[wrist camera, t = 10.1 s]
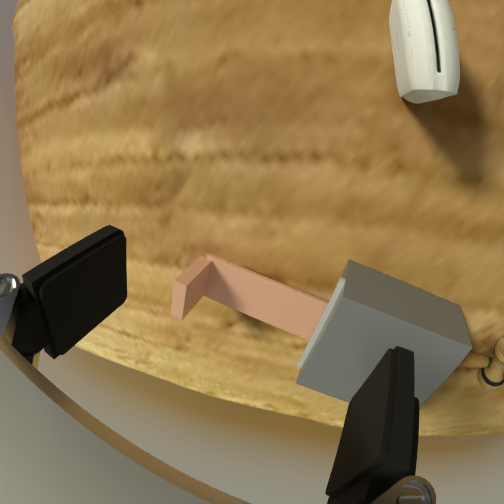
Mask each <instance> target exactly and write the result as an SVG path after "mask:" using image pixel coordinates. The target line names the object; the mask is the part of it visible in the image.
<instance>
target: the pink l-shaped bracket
mask: <svg viewBox="0 0 504 504" xmlns="http://www.w3.org/2000/svg"><path fill="white" fill-rule="evenodd" d="M203 295H204V296H206V297H208V298H210V299H213V300H215V301H217V302H219V303H222V304H224V305H226V306H228V307H231V308H233V309H235V310H237V311H240V312H242V313H244V314H247V315H249V316H251V317H254V318H256V319H258V320H261V321H263V322H265V323H268V324H270V325H273V326H275V327H278V328H280V329H282V330H285V331H287V332H290V333H292V334H295V335H297V336H300V337H302V338H305V339H307V340H310V339H311V337H312V335H313V333H314V331H315V329H316V327H317V325H318V323H319V321H320V319H321V317H322V315H323V313H324V311H325V309H326V307H327V304H328V302H327V301H325V300H322V299H320V298H317V297H315V296H312V295H310V294H307V293H305V292H302V291H300V290H297V289H295V288H292V287H290V286H287V285H285V284H282V283H280V282H277V281H275V280H272V279H270V278H267V277H265V276H263V275H260V274H258V273H255V272H253V271H250V270H248V269H245V268H243V267H241V266H238V265H236V264H233V263H231V262H229V261H226V260H224V259H221V258H219V257H216V256H214V255H212V254H209V253H208V254H207V257H206V258H205V257H202V256H200V257H199V258H198V259H197V260H196V261H195V262H193V263H192V264H191V265H190V266H189V267H188V268H187V269H186V270H185V271H184V272H183V273H182V274H181V275H179V276H178V277H177V278H176V279H175V280H174V287H173V296H172V306H171V315H172V316H174V317H176V318H178V319H180V320H183V318H184V317H185V316H186V315H187V314H188V313H189V312H190V310H191V309H192V308H193V307H194V306H195V305H196V304H197V302H198V301H199V300H200V299H201V298H202V297H203Z"/></svg>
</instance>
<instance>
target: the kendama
mask: <svg viewBox="0 0 504 504" xmlns="http://www.w3.org/2000/svg"><path fill="white" fill-rule="evenodd" d="M457 367H466V368H480V370H479V372H478V381H479V383H480V385H481V386H482V387H483V388H484V389H486V390H488V391H496V390H498V389H499V388H500V387H501V386H502V385H503V384H504V337H502V338H500V339H499V340H498V342H497V343H496V345H495V356H494V358H491V357H488V356H485V355H482V354H479V353H475V352H471V351H470V352H469V353H468V354H467V355H466V357H465V358H464V359H463V360H462V361H461V363H460V364H459V365H458V366H457Z"/></svg>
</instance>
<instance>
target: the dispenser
mask: <svg viewBox="0 0 504 504" xmlns="http://www.w3.org/2000/svg"><path fill="white" fill-rule="evenodd" d="M396 346H400V347H403V348H405V349H408V350H411V351H413V352H414V371H415V386H414V397H416V398H418V400H419V407H420V406H421V405H422V404H423V403H424V402H425V401H426V400H427V399H428V398H429V397H430V396H431V395H432V394H433V393H434V392H435V391H436V390H437V389H438V388H439V387H440V386H441V384H442V383H443V382H444V381H445V380H446V379H447V378H448V377H449V376H450V374H451V373H452V372H453V371H454V370H455V369H456V367H457V366H458V365H459V364H460V363H461V361H462V360H463V359H464V358H465V357H466V355H467V354H468V353H469V352H470V350H471V349H472V348H473V347H472V343H471V340H470V336H469V333H468V330H467V326H466V323H465V320H464V317H463V314H462V311H461V308H460V306H459V305H457V304H454V303H452V302H450V301H447V300H445V299H443V298H440V297H438V296H436V295H433V294H431V293H429V292H426V291H424V290H422V289H419V288H417V287H415V286H412V285H410V284H408V283H405V282H403V281H400V280H398V279H396V278H393V277H391V276H388V275H386V274H383V273H381V272H379V271H376V270H374V269H371V268H369V267H366V266H364V265H361V264H359V263H357V262H354V261H352V260H349V261H348V263H347V265H346V267H345V270H344V272H343V274H342V276H341V277H340V279H339V281H338V283H337V286H336V288H335V290H334V292H333V294H332V296H331V298H330V300H329V302H328V304H327V307H326V309H325V311H324V313H323V315H322V317H321V319H320V321H319V323H318V325H317V327H316V329H315V331H314V333H313V335H312V337H311V339H310V341H309V342H308V344H307V346H306V348H305V350H304V352H303V354H302V356H301V358H300V360H299V361H298V364H297V366H298V367H301V369H300V372H299V375H298V378H297V381H296V383H297V384H299V385H302V386H305V387H307V388H310V389H313V390H315V391H318V392H321V393H323V394H326V395H329V396H332V397H335V398H338V399H340V400H343V401H346V402H349V403H350V401H351V399H352V397H353V396H354V395H355V393H356V392H357V391H358V390H359V388H360V387H361V386H362V384H363V383H364V382H365V380H366V379H367V378H368V376H369V375H370V374H371V372H372V371H373V370H374V368H375V367H376V365H377V364H378V363H379V361H380V360H381V358H382V357H383V356H384V354H385V353H386V351H387V350H388V349H389V348H391V349H394V348H395V347H396Z"/></svg>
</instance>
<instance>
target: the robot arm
mask: <svg viewBox="0 0 504 504" xmlns="http://www.w3.org/2000/svg"><path fill="white" fill-rule="evenodd" d="M22 277H23V281H24V282H23V283H22V284H20V281H19V279H18V277H17V276H15V275H13V274H8V273H6V274H0V504H250V503H248V502H246V501H243V500H241V499H238V498H236V497H233V496H231V495H229V494H227V493H224V492H222V491H219V490H218V489H215V488H213V487H211V486H209V485H207V484H204V483H203V482H201V481H198V480H196V479H194V478H192V477H190V476H189V475H187V474H185V473H183V472H181V471H179V470H177V469H175V468H173V467H172V466H170V465H168V464H166V463H164V462H163V461H161V460H159V459H157V458H156V457H154V456H152V455H151V454H149V453H147V452H146V451H144V450H142V449H141V448H139V447H137V446H136V445H134V444H133V443H131V442H130V441H128V440H127V439H125V438H124V437H122V436H121V435H119V434H118V433H116V432H115V431H113V430H112V429H110V428H109V427H107V426H106V425H105V424H103V423H102V422H100V421H99V420H98V419H96V418H95V417H93V416H92V415H90V413H88V412H87V411H86V410H84V409H83V408H82V407H80V406H79V405H78V404H77V403H75V402H74V401H73V400H72V399H70V398H69V397H68V396H67V395H65V394H64V393H63V392H62V391H61V390H59V389H58V388H57V387H56V386H55V385H53V383H51V382H50V381H49V380H48V379H47V378H46V377H45V376H44V375H42V374H41V373H40V372H39V371H38V370H37V369H38V362H39V356H40V351H41V350H42V349H43V348H44V350H45V352H46V353H47V354H48V355H50V356H51V357H52V358H53V359H55V358H56V357H58V356H59V355H63V354H65V353H66V352H67V351H68V350H69V349H71V348H72V347H73V346H74V345H75V344H76V343H78V342H79V341H80V340H81V339H82V338H83V337H84V336H86V335H87V334H88V333H89V332H90V331H91V330H92V329H94V328H95V327H96V326H97V325H98V324H99V323H101V322H102V321H103V320H104V319H105V318H106V317H108V316H109V315H110V314H111V313H112V312H114V311H115V310H116V309H117V308H118V307H119V306H121V305H122V304H123V303H124V302H125V300H126V298H127V273H126V237H125V236H124V232H123V231H122V230H120V229H118V228H116V227H113V226H111V225H108V226H105V227H103V228H102V229H100V230H98V231H96V232H94V233H92V234H91V235H89V236H87V237H85V238H84V239H82V240H80V241H78V242H76V243H75V244H73V245H71V246H70V247H68V248H66V249H64V250H63V251H61V252H59V253H58V254H56V255H54V256H53V257H51V258H49V259H48V260H46V261H44V262H43V263H41V264H39V265H38V266H36V267H35V268H33V269H31V270H30V271H28V272H26V273H25V274H23V275H22ZM414 386H415V371H414V352H413V351H411V350H408V349H405V348H403V347H400V346H396V347H395V348H394V349H391V348H389V349H388V350H387V351H386V353H385V354H384V356H383V357H382V358H381V360H380V361H379V363H378V364H377V365H376V367H375V368H374V370H373V371H372V372H371V374H370V375H369V376H368V378H367V379H366V380H365V382H364V383H363V384H362V386H361V387H360V388H359V390H358V391H357V392H356V393H355V395H354V396H353V397H352V399H351V401H350V403H349V406H348V410H347V414H346V418H345V423H344V427H343V431H342V435H341V439H340V443H339V447H338V450H337V454H336V458H335V461H334V465H333V468H332V472H331V475H330V478H329V482H328V485H327V488H326V495H329V499H328V502H327V504H436V494H435V491H434V488H433V487H432V485H431V484H430V483H429V482H428V481H427V480H426V479H424V478H422V477H420V476H415V471H416V461H417V449H418V433H419V400H418V398H416V397H414Z"/></svg>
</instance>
